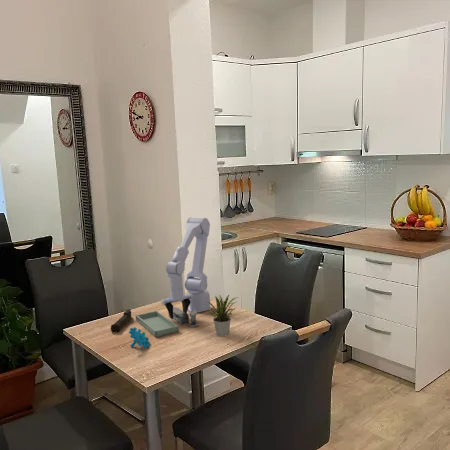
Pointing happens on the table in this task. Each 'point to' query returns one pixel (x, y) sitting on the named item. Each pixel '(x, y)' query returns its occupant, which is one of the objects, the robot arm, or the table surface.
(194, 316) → the stud post
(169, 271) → the robot arm
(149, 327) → the bin tray
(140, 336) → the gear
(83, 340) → the table surface
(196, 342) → the table surface
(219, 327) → the house plant
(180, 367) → the table surface
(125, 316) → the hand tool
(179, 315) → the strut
